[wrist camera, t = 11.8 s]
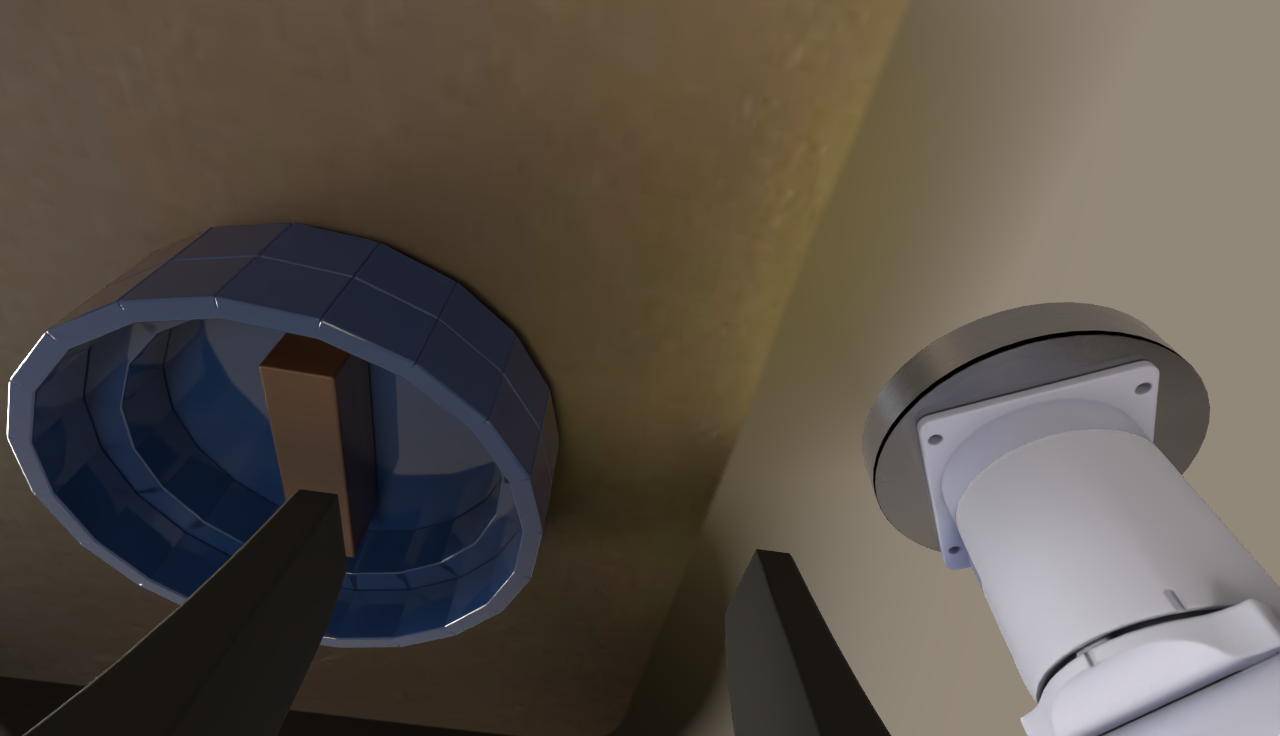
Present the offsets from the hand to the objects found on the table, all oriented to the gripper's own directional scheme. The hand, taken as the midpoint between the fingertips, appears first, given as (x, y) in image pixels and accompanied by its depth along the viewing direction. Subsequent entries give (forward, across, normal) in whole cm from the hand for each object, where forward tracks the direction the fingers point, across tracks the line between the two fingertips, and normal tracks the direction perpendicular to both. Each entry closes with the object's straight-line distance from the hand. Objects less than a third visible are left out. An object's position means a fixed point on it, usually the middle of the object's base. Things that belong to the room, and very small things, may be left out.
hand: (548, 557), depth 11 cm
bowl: (+10, +7, +6) cm, 14 cm away
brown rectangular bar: (+9, +7, +6) cm, 13 cm away
